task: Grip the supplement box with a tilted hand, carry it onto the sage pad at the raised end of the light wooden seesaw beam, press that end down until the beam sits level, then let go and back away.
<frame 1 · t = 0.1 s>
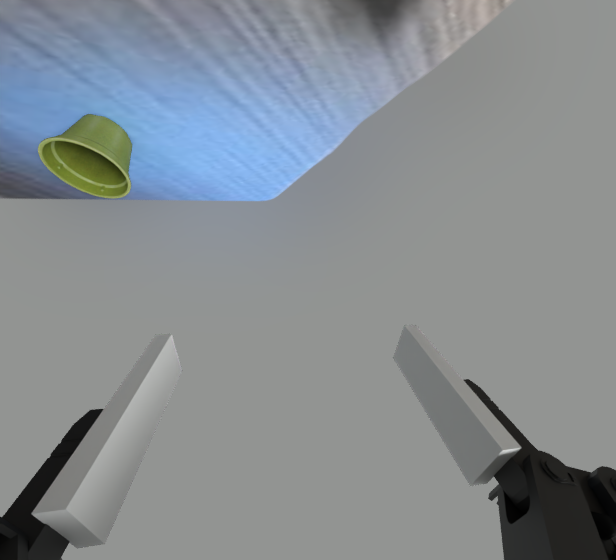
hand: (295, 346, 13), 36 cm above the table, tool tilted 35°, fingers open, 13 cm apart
plant pot: (109, 134, 35), on the table
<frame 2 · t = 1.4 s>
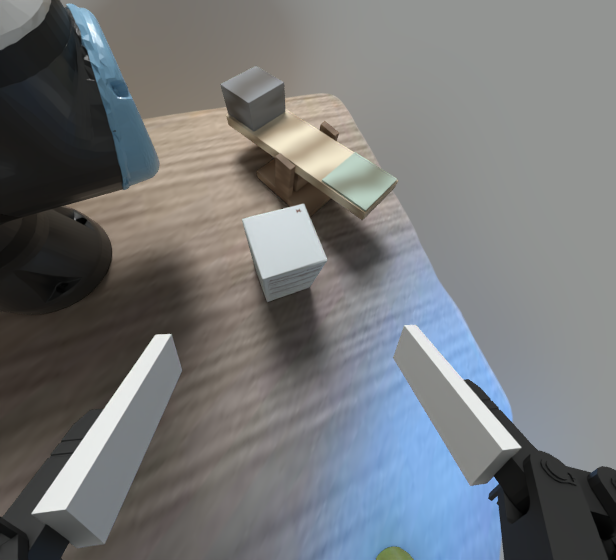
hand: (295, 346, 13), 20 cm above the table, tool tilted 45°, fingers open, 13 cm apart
supplement box: (281, 275, 35), on the table
seesaw beam: (307, 138, 32), point 9 cm above the table, hinge at -8.0°
fulcrum stand: (302, 181, 41), on the table
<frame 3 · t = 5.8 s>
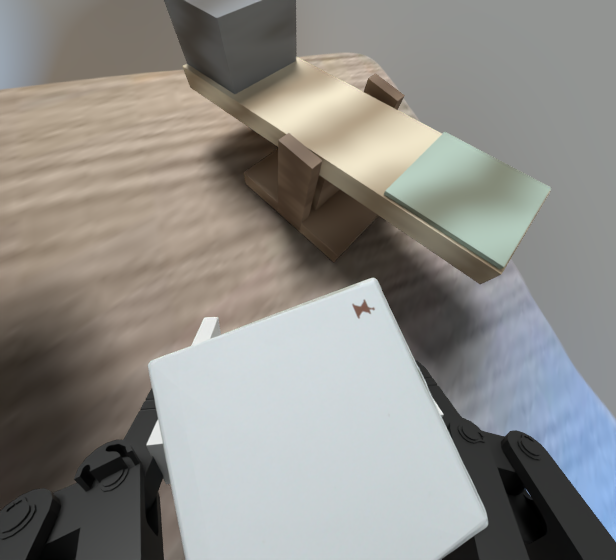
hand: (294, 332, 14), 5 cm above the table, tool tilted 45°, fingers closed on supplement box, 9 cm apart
supplement box: (290, 377, 18), on the table, touching gripper
seesaw beam: (346, 101, 15), point 9 cm above the table, hinge at -8.0°
fulcrum stand: (324, 190, 23), on the table
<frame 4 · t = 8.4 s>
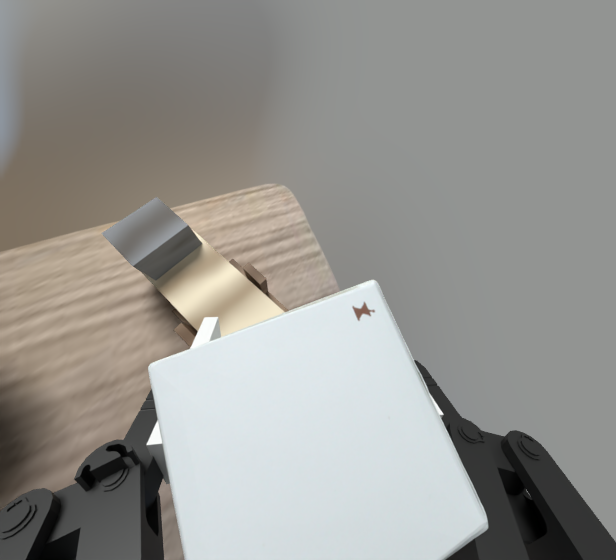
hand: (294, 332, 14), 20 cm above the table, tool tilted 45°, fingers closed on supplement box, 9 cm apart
supplement box: (290, 378, 18), point 15 cm above the table, touching gripper
seesaw beam: (218, 299, 25), point 9 cm above the table, hinge at -8.0°
fulcrum stand: (234, 313, 33), on the table
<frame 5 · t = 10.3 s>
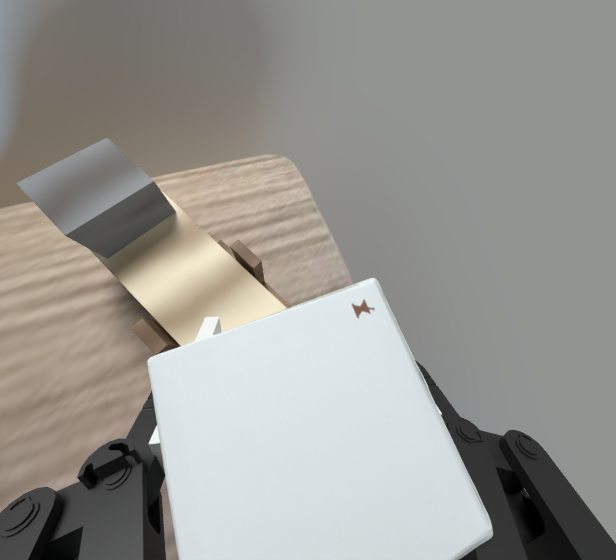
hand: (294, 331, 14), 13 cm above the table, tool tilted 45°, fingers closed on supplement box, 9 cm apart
supplement box: (292, 381, 18), point 8 cm above the table, touching gripper, seesaw beam
seesaw beam: (197, 288, 18), point 9 cm above the table, hinge at -2.2°, touching supplement box
fulcrum stand: (222, 307, 26), on the table
when the fingers open (13 cm above the table, at t = 11.3 s): supplement box stays where it is, resting on seesaw beam.
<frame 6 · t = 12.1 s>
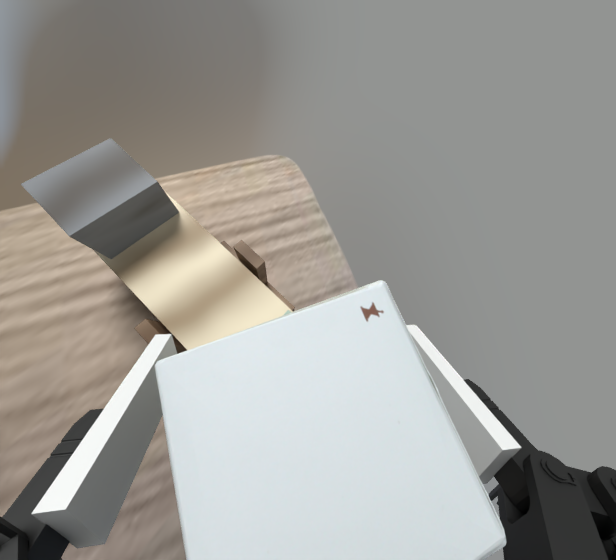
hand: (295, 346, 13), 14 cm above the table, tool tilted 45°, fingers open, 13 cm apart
supplement box: (296, 382, 18), point 8 cm above the table, touching seesaw beam
seesaw beam: (201, 289, 18), point 9 cm above the table, hinge at -2.0°, touching supplement box
fulcrum stand: (225, 308, 26), on the table
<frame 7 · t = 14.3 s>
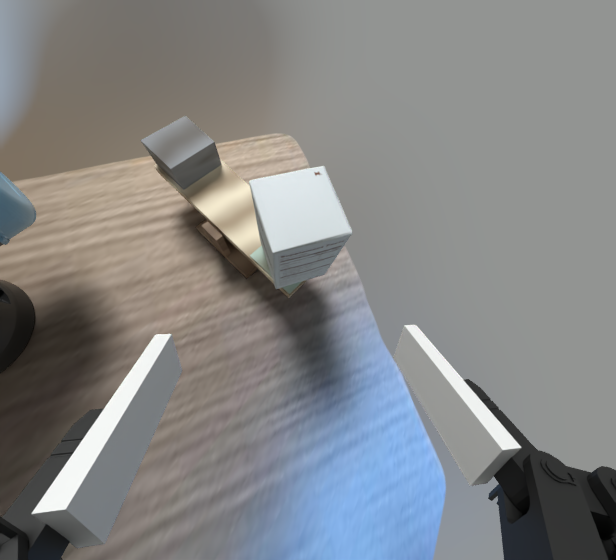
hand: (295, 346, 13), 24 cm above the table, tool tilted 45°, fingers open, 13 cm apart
supplement box: (292, 259, 31), point 8 cm above the table, touching seesaw beam
seesaw beam: (238, 206, 31), point 9 cm above the table, hinge at -1.8°, touching supplement box
fulcrum stand: (246, 234, 39), on the table
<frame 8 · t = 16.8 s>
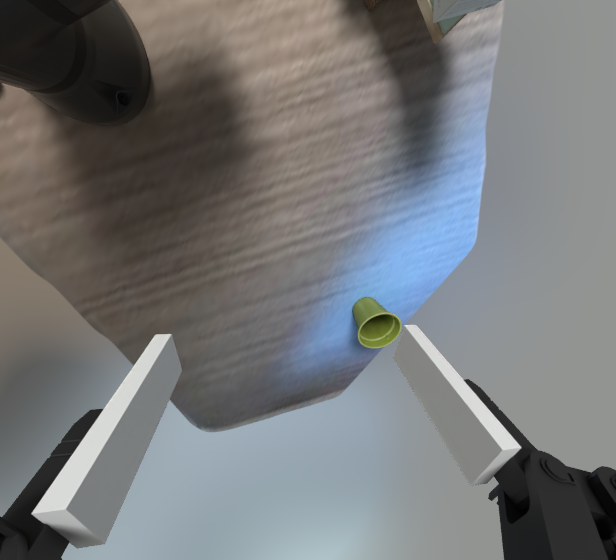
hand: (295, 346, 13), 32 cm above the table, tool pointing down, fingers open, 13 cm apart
plant pot: (364, 306, 53), on the table
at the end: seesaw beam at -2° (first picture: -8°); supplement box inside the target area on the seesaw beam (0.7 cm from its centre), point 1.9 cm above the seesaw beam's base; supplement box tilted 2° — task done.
